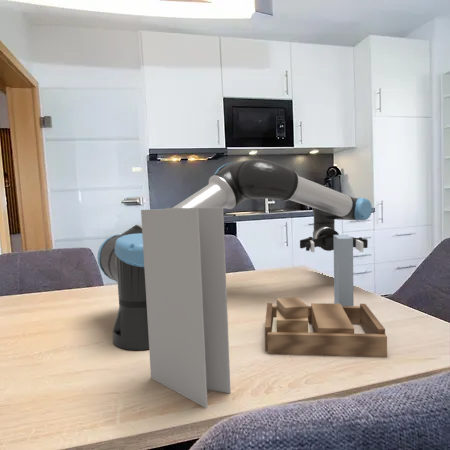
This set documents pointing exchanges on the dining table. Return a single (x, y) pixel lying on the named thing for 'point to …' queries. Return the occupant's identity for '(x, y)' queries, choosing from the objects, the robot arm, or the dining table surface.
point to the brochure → (187, 300)
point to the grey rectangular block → (343, 270)
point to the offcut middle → (291, 324)
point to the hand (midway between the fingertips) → (337, 247)
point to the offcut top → (292, 308)
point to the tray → (330, 333)
